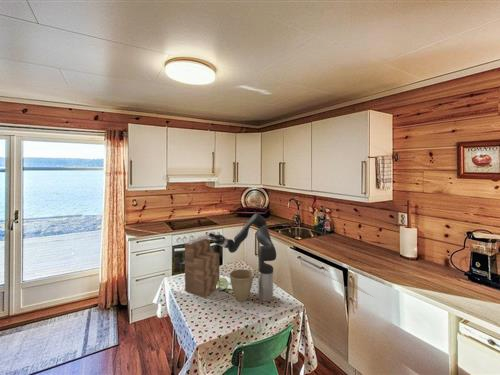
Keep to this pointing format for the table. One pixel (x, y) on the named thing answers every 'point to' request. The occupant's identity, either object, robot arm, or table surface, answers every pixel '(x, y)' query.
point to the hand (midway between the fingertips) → (208, 233)
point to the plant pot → (241, 283)
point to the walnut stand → (201, 268)
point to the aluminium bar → (200, 238)
